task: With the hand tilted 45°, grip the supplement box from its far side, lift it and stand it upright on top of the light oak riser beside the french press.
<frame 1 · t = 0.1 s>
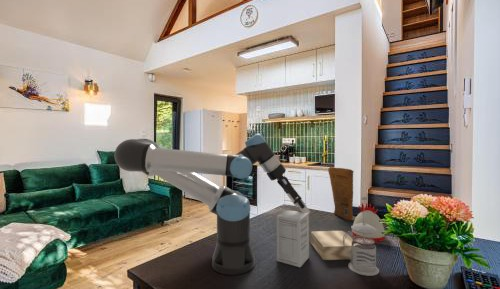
hand: (302, 209, 105), 15 cm above the table, tool tilted 35°, fingers open, 13 cm apart
supplement box: (293, 259, 93), on the table
crested helmet: (368, 236, 116), on the table
oak riser: (333, 250, 100), on the table
french press: (360, 268, 87), on the table
pancake mix bag: (341, 216, 144), on the table
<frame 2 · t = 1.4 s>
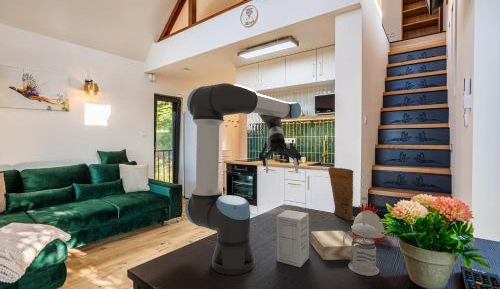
hand: (282, 171, 114), 30 cm above the table, tool tilted 45°, fingers open, 13 cm apart
nothing on the table moved.
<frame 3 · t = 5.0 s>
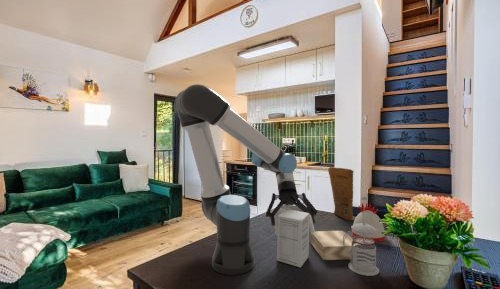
hand: (295, 233, 94), 9 cm above the table, tool tilted 45°, fingers open, 13 cm apart
supplement box: (292, 259, 93), on the table, touching gripper
everything else where it was.
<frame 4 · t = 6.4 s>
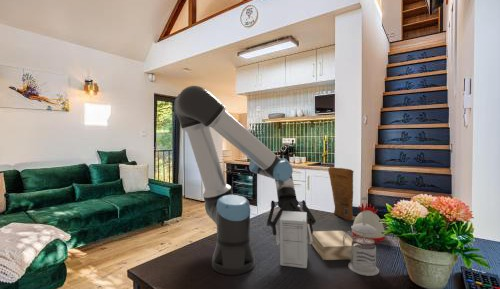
hand: (294, 243, 90), 7 cm above the table, tool tilted 45°, fingers closed on supplement box, 11 cm apart
supplement box: (294, 260, 92), on the table, touching gripper
everything else where it was.
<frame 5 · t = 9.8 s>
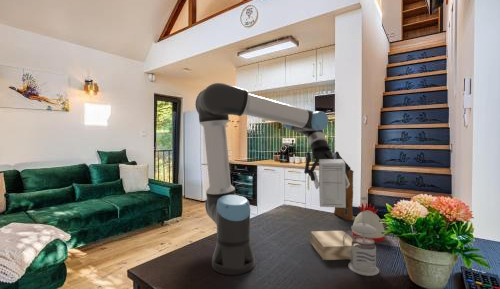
hand: (332, 186, 96), 26 cm above the table, tool tilted 45°, fingers closed on supplement box, 11 cm apart
supplement box: (331, 203, 98), point 19 cm above the table, touching gripper
everything else where it was.
when the fingers open (14 cm above the table, at t = 13.3 s): supplement box drops 2 cm, resting on oak riser.
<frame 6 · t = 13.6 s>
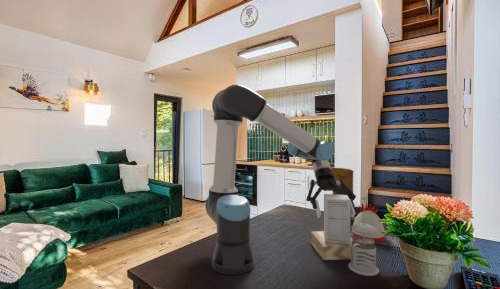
hand: (336, 215, 98), 15 cm above the table, tool tilted 45°, fingers open, 13 cm apart
supplement box: (336, 239, 99), point 5 cm above the table, touching oak riser
everything else where it was.
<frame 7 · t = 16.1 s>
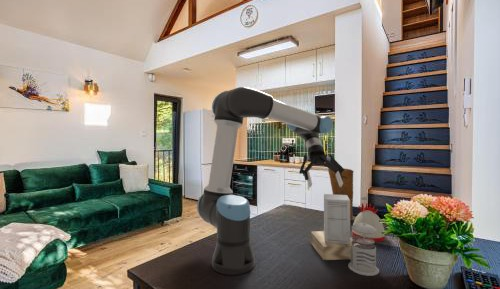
hand: (326, 185, 109), 24 cm above the table, tool tilted 45°, fingers open, 13 cm apart
nothing on the table moved.
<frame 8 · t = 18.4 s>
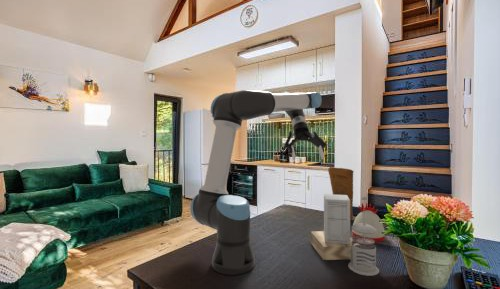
hand: (308, 157, 117), 36 cm above the table, tool tilted 45°, fingers open, 13 cm apart
nothing on the table moved.
at the end: supplement box inside the target area on the oak riser (1.2 cm from its centre), point 4.8 cm above the oak riser's base; supplement box tilted 0°; the gripper is holding nothing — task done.
